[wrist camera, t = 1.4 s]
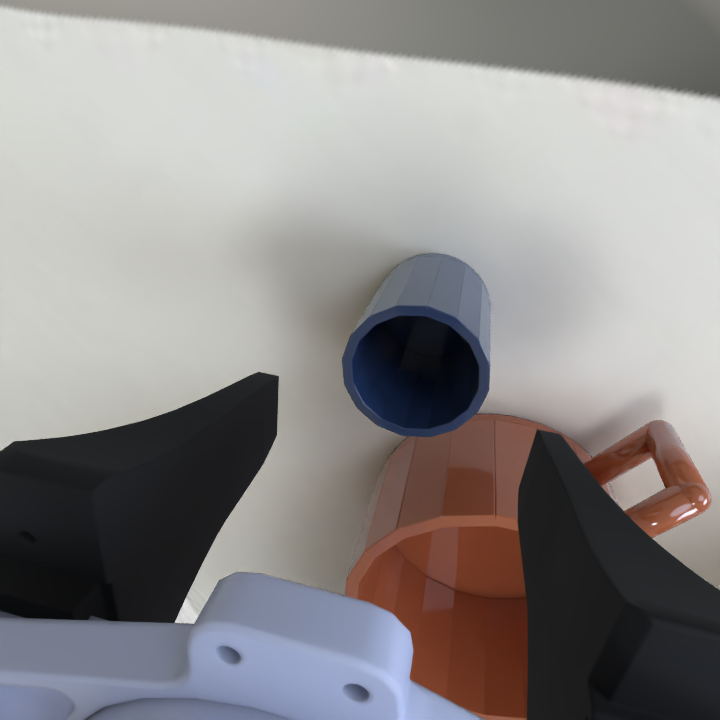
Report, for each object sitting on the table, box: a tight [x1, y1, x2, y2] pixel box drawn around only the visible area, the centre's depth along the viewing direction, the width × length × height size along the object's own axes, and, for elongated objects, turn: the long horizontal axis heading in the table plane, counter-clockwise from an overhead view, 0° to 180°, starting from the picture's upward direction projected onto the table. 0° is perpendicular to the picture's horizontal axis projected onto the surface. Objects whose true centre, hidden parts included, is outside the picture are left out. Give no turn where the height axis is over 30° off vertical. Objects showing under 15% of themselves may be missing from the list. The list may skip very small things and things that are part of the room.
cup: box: [342, 254, 490, 437], centre depth 20 cm, size 5×5×6 cm
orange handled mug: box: [345, 414, 711, 720], centre depth 23 cm, size 16×12×7 cm
